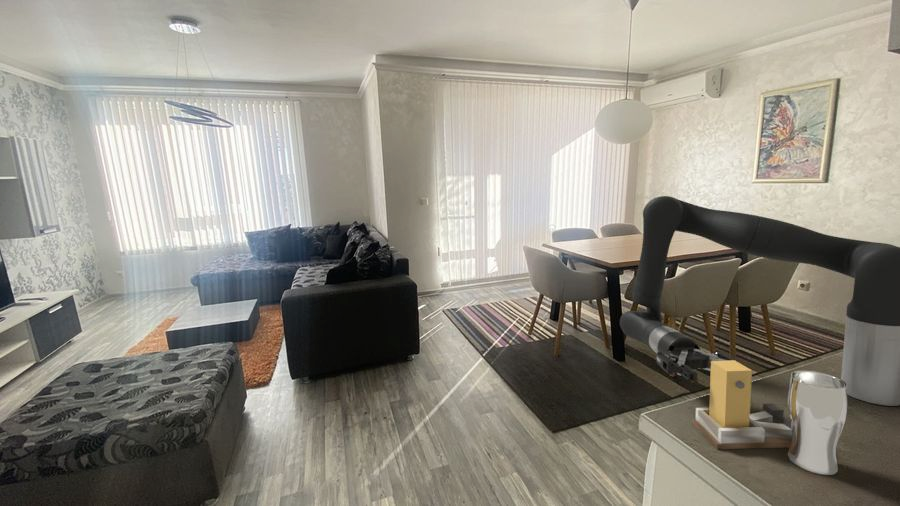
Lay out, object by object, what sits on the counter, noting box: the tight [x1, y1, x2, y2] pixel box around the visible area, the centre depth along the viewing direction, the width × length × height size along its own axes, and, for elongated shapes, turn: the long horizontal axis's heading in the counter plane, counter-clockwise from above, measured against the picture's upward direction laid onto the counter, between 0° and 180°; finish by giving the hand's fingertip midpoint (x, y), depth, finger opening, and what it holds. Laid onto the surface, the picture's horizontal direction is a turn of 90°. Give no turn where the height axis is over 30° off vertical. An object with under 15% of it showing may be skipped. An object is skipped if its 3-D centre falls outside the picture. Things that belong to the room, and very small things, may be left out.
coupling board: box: [691, 402, 792, 450], centre depth 71 cm, size 16×8×4 cm, turn 88°
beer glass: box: [787, 369, 848, 476], centre depth 62 cm, size 7×7×15 cm
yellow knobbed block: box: [708, 360, 753, 428], centre depth 71 cm, size 4×6×13 cm
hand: (717, 377), depth 74 cm, fingers open, 8 cm apart
